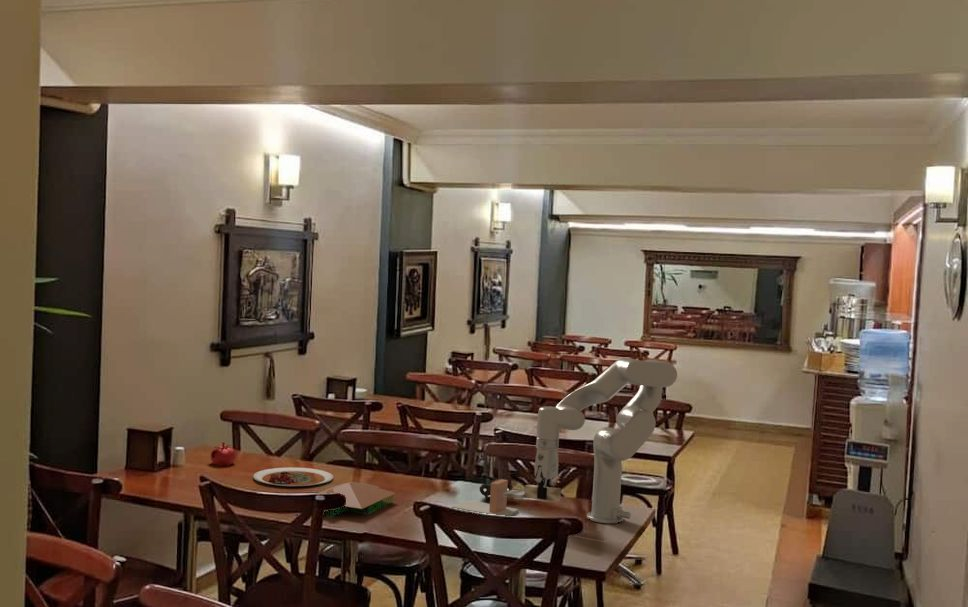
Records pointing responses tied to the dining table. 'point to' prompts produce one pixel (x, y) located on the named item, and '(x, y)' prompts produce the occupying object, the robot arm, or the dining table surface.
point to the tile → (498, 496)
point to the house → (360, 495)
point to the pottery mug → (488, 489)
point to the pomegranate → (223, 455)
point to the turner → (534, 493)
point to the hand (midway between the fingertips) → (543, 497)
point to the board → (483, 508)
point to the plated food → (291, 476)
